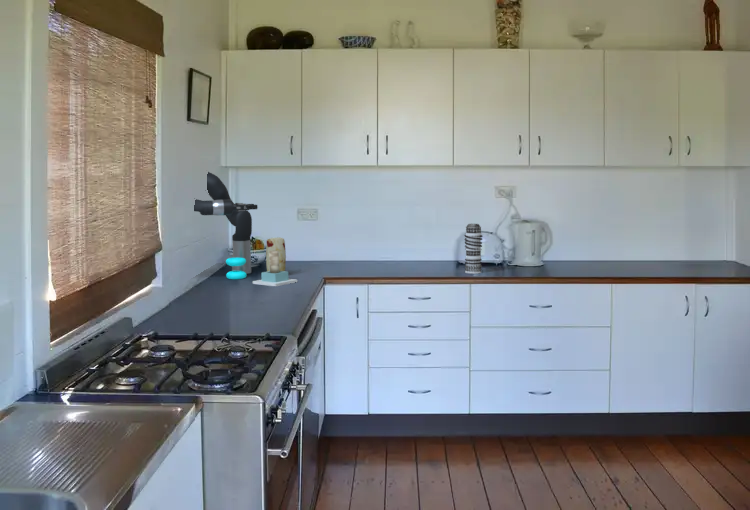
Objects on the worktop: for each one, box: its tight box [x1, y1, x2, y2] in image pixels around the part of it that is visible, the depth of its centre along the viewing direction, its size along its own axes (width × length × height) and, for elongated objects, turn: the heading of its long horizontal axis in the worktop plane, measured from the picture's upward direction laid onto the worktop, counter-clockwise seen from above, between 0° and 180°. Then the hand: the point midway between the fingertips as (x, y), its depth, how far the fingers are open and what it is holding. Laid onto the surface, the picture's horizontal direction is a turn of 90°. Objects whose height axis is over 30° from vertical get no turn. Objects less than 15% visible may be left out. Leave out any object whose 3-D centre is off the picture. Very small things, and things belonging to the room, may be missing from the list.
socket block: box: [252, 270, 298, 287], centre depth 351 cm, size 15×15×5 cm
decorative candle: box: [464, 223, 483, 274], centre depth 378 cm, size 9×9×25 cm
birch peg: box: [269, 251, 279, 273], centre depth 351 cm, size 4×4×14 cm
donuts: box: [225, 257, 247, 280], centre depth 367 cm, size 10×10×10 cm
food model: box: [265, 236, 287, 272], centre depth 370 cm, size 10×7×20 cm
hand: (255, 206), depth 357 cm, fingers open, 8 cm apart
